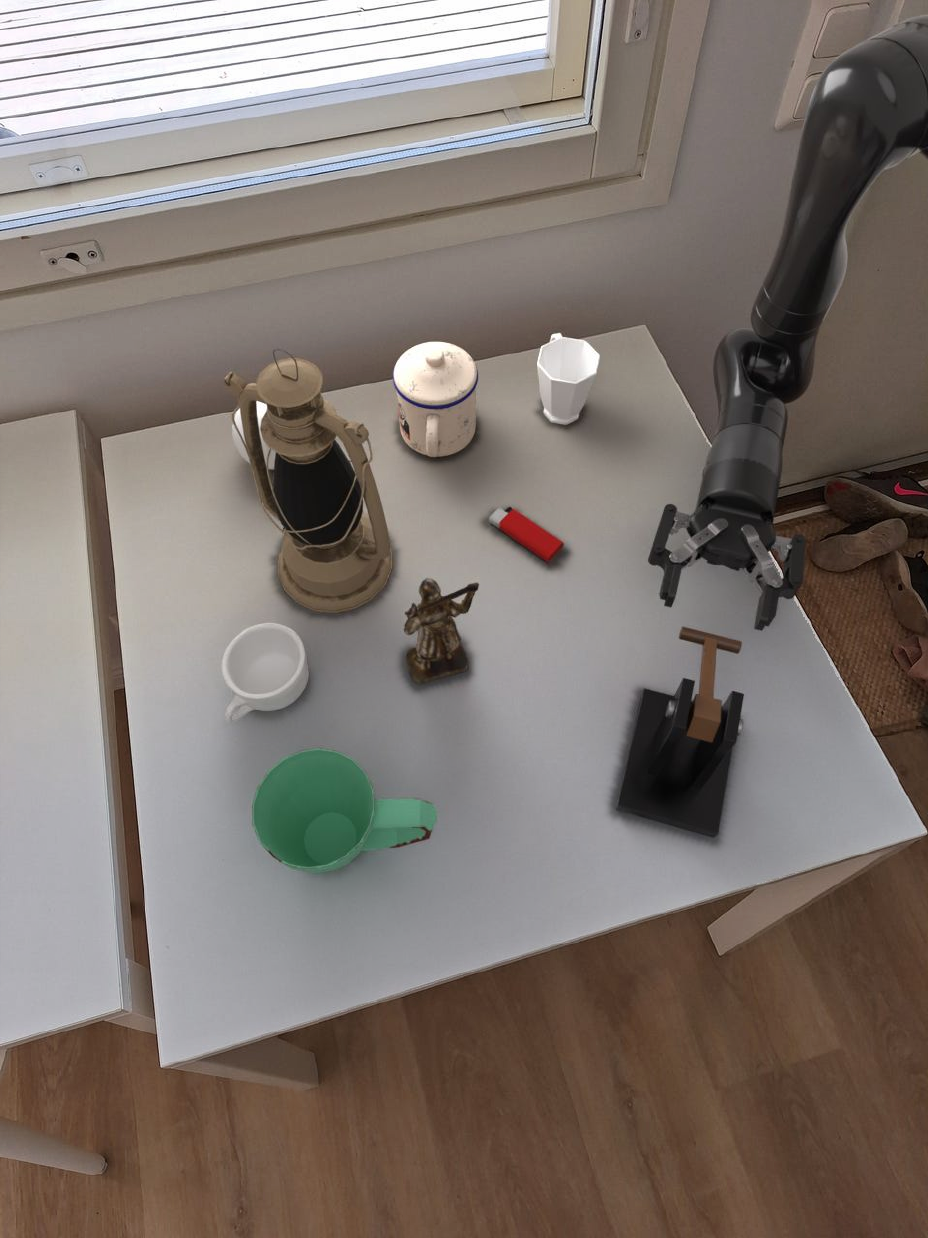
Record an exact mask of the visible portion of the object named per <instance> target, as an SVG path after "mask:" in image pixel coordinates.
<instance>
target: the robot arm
mask: <svg viewBox="0 0 928 1238" xmlns="http://www.w3.org/2000/svg"><path fill="white" fill-rule="evenodd" d="M918 153H919V154H921V155H922V156H923V157H924V158H925V159H926V160H927V161H928V14H921V15H916V16H912V17H909V18H907V19H905V20H903V21H900V22H898V23H896V24H894V25H892V26H890V27H888V28H886V29H885V30H882V31H880V32H879V33H877V34H874V35H873V36H871V37H869V38H867V39H865V40H863V41H861V42H860V43H857V44H856V45H854V46H852V47H851V48H849V49H847V50H844V52H842V53H841V54H839V55H838V56H837V57H835V58H834V59H833V60H832V61H831V62H830V63H829V64H828V65H827V66H826V67H825V68H824V70H823V71H822V73H821V74H820V76H819V78H818V79H817V81H816V83H815V86H814V88H813V91H812V93H811V96H810V99H809V101H808V105H807V109H806V113H805V117H804V121H803V125H802V130H801V134H800V140H799V144H798V150H797V155H796V160H795V166H794V171H793V174H792V179H791V184H790V188H789V194H788V198H787V204H786V208H785V213H784V214H785V215H784V218H783V223H782V226H781V231H780V235H779V238H778V242H777V244H776V247H775V251H774V252H773V256H772V258H771V261H770V263H769V266H768V268H767V270H766V273H765V276H764V278H763V280H762V283H761V285H760V288H759V291H758V293H757V295H756V298H755V300H754V302H753V305H752V308H751V311H750V312H751V313H750V324H751V327H744V326H743V327H737V328H734V329H733V330H730V331H729V332H727V334H726V335H724V337H723V338H722V339H721V340H720V341H719V343H718V345H717V347H716V349H715V353H714V357H713V366H712V369H713V370H712V371H713V373H712V374H713V382H714V388H715V395H716V398H717V399H716V400H717V407H718V415H717V423H716V427H715V432H714V435H713V436H714V438H713V441H712V444H711V446H710V449H709V451H708V454H707V457H706V460H705V465H704V467H703V470H702V479H701V484H700V488H699V491H698V497H697V502H696V507H695V511H694V512H693V513H692V514H691V515H690V514H686V513H683V512H679V511H678V507H677V506H676V505H675V504H673V503H667V504H665V505H664V507H663V508H664V509H663V511H662V515H661V517H660V521H659V523H658V527H657V530H656V533H655V535H654V536H655V537H654V539H653V542H652V545H651V548H650V552H649V554H648V557H647V562H648V564H649V565H651V566H654V567H655V566H658V567H660V568H661V569H662V571H663V576H662V581H661V586H660V588H659V593H658V595H659V599H660V600H662V601H664V604H663V606H664V607H667V608H673V605H674V602H675V599H676V596H677V593H678V587H679V583H680V579H681V574H682V571H683V570H684V569H686V568H687V567H688V568H689V567H691V566H693V565H694V564H696V563H697V562H698V561H701V560H702V559H704V560H705V561H706V564H709V565H712V566H724V567H726V568H728V569H730V570H733V571H738V572H739V571H740V570H742V569H743V571H744V573H745V574H746V577H747V578H748V579H749V581H750V582H751V583H753V584H755V586H756V587H757V590H758V591H759V592H760V596H759V597H758V602H757V609H756V615H755V621H754V625H753V630H757V631H760V632H763V630H764V629H765V627H770V625H771V624H772V622H773V621H774V619H776V618H775V617H776V616H777V611H778V604H779V598H785V599H786V600H792V599H794V598H795V596H796V594H797V592H798V590H799V589H800V588H801V587H802V585H803V584H804V571H805V556H806V537H805V536H804V535H803V534H794V535H793V536H792V538H789V537H784V536H780V535H779V536H778V535H777V533H775V529H774V521H775V520H774V519H775V514H776V507H777V503H778V496H779V490H780V485H781V479H782V478H781V477H782V472H783V453H784V452H783V450H784V446H785V439H786V433H787V427H788V418H789V415H788V413H789V412H788V410H787V407H786V404H787V405H788V404H791V403H793V402H795V401H796V400H799V399H800V398H801V397H802V396H803V395H804V394H805V393H806V391H807V390H808V388H809V387H810V384H811V381H812V378H813V375H814V374H813V373H814V367H815V356H816V355H815V354H816V344H817V339H818V335H819V332H820V329H821V327H822V325H823V323H824V321H825V319H826V317H827V316H828V314H829V311H830V309H831V308H832V305H833V304H834V301H835V300H836V297H837V296H838V294H839V291H840V289H841V287H842V284H843V282H844V279H845V277H846V272H847V267H848V259H849V258H848V255H849V254H848V245H847V240H846V230H847V227H848V223H849V221H850V219H851V217H852V214H853V213H854V211H855V209H856V208H857V206H858V204H859V203H860V202H861V200H862V198H863V197H864V196H865V194H866V193H867V191H868V190H869V189H870V187H871V186H872V185H873V183H874V182H875V181H876V179H877V178H878V177H879V176H880V174H881V173H882V172H884V171H886V170H889V169H892V168H894V167H896V166H898V165H900V164H901V163H903V162H904V161H906V160H907V159H910V158H911V157H913V156H915V155H916V154H918ZM685 528H686V532H687V534H688V536H689V538H688V539H687V540H686V542H685V543H684V544H683V545H681V546H679V547H678V548H676V549H674V550H673V551H671V550H669V549H668V548H666V546H667V543H668V540H669V536H670V535H674V534H678V533H679V531H680V530H681V529H685ZM772 549H773V550H775V551H776V553H777V554H778V558H779V561H780V562H782V563H783V573H782V578H781V576H780V575H779V572H777V570H776V568H775V565H774V561H773V558H772V557H771V555H770V553H769V552H770V551H771V550H772Z"/></svg>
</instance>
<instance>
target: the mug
mask: <svg viewBox="0 0 928 1238" xmlns="http://www.w3.org/2000/svg"><path fill="white" fill-rule="evenodd" d="M375 794H376V793H375V789H374V786H373V784H372V782H371V780H370V778H369V775H368V773H367V772H366V771H365V770H364V769H363V768H362V767H361V765H360V764H359V763H358V762H357V761H356V760H355V759H354V758H352V757H350V756H348V755H346V754H344V753H343V752H340V751H338V750H333V749H327V748H322V747H321V748H320V747H318V748H309V749H303V750H299V751H296V752H295V753H292V754H290V755H288V756H285V757H283V758H282V759H281V760H279V761H278V762H277V763H276V764H275V765H273V767H271V768H270V769H269V770H268V771H267V772H266V773H265V775H264V777H263V778H262V780H261V781H260V783H259V784H258V785H257V787H256V791H255V795H254V797H253V801H252V804H251V811H252V812H251V818H252V821H251V823H252V827H253V830H254V833H255V835H256V837H257V840H258V842H259V844H260V845H261V847H263V849H265V851H267V853H268V854H269V855H270V856H271V857H272V858H274V859H275V860H277V862H279V863H280V864H281V865H283V866H285V867H287V868H289V869H291V870H297V871H301V872H306V873H311V874H320V873H328V872H334V871H336V870H339V869H340V868H342V867H344V866H346V865H348V864H350V863H351V862H352V861H353V860H354V859H355V858H356V857H357V856H358V855H359V854H360V853H361V852H363V851H365V852H366V851H374V850H375V851H376V850H385V849H387V850H388V849H397V848H401V847H405V846H409V845H412V844H416V843H420V842H424V841H426V840H429V839H430V838H431V835H432V832H433V830H434V828H435V825H436V822H437V819H438V814H437V808H436V806H435V804H434V803H433V802H430V801H428V800H424V799H422V798H383V799H376V795H375Z"/></svg>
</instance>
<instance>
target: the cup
mask: <svg viewBox="0 0 928 1238" xmlns="http://www.w3.org/2000/svg"><path fill="white" fill-rule="evenodd" d="M600 359H601V355H600V354H599V353H598V352H597V350H595V349H594V348H593V346H592V345H591V344H590V343H589V342H588V341H587V340H586V339H579V338H573V337H565V336H563V335H562V333H561V332H558V333H553V334H551V336H550V340H549V342H548V343H545V344H543V345H541V346H540V351H539V354H538V357H537V362H536V368H537V369H536V370H537V378H538V387H539V395H540V399H541V403H542V407H544V408H543V411H542V412H543V415H544V416H545V417H546V418H547V419H548V420H549V421H550V423H553V424H559V425H564V426H566V425H569V424H571V423H573V422H575V421H577V420H579V416H580V413H581V411H582V409H583V408H584V406H585V404H586V402H587V399H588V397H589V395H590V391H591V389H592V387H593V383H594V381H595V379H596V376H597V374H598V370H599V369H598V367H599V363H600Z"/></svg>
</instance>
